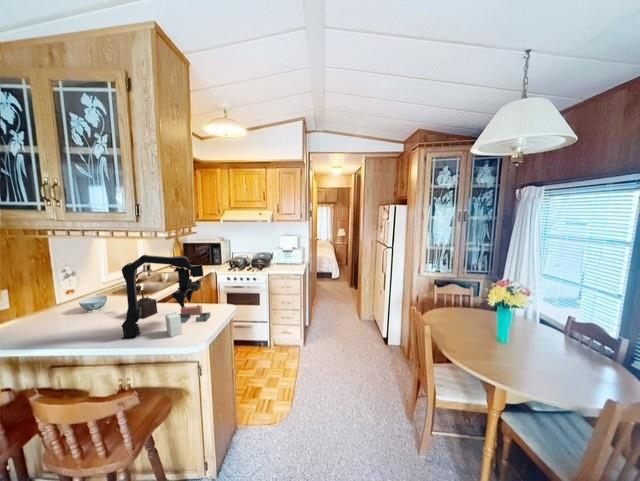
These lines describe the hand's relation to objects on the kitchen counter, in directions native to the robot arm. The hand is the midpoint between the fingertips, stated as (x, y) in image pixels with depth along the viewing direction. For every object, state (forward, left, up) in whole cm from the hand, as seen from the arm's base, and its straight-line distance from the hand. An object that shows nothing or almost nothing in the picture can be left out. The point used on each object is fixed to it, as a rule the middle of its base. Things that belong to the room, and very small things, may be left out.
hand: (186, 304), depth 156 cm
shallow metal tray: (0, +10, -13) cm, 16 cm away
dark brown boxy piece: (-37, +24, -13) cm, 46 cm away
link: (-4, +19, -13) cm, 23 cm away
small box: (-4, -8, -13) cm, 16 cm away
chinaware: (-75, +37, -13) cm, 85 cm away
